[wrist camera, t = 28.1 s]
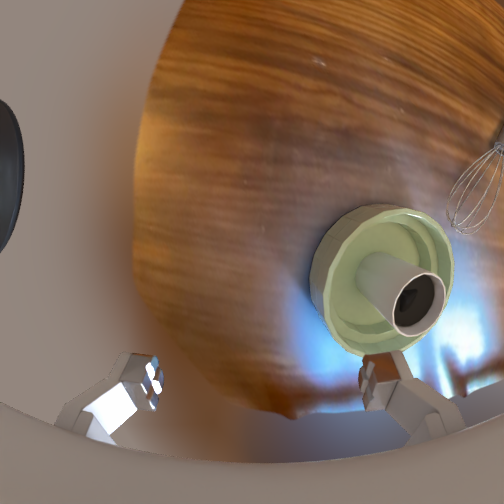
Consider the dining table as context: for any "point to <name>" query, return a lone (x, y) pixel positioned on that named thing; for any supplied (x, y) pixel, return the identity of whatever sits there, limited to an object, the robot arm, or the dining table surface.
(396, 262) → the white coffee cup
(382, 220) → the bowl
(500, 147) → the kitchen whisk
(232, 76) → the dining table surface
